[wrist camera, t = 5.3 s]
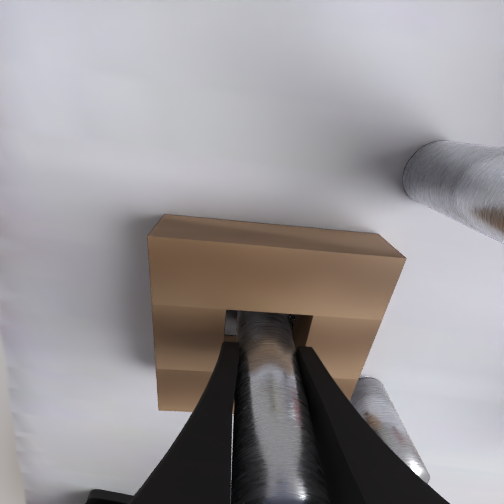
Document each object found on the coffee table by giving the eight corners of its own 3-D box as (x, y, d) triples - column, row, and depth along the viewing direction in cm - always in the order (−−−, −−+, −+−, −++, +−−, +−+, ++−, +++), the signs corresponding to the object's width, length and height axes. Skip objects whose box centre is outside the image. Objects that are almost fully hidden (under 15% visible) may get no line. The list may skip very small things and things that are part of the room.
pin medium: (282, 337, 15) (318, 544, 8) (234, 333, 15) (225, 541, 7) (291, 298, 14) (345, 496, 7) (240, 293, 13) (236, 492, 6)
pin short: (376, 405, 19) (418, 495, 14) (339, 403, 19) (369, 494, 14) (388, 378, 18) (438, 468, 13) (349, 376, 17) (385, 466, 13)
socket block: (330, 379, 17) (342, 418, 15) (170, 370, 17) (158, 410, 14) (378, 234, 13) (406, 258, 11) (164, 214, 12) (147, 235, 10)
